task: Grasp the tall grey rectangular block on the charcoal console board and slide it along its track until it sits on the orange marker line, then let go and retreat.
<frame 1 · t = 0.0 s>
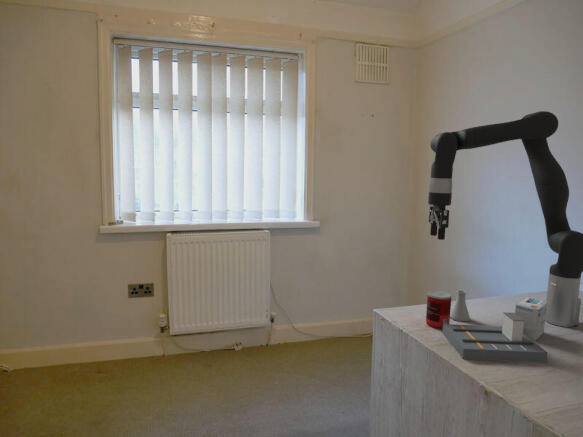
hand: (437, 237, 141), 29 cm above the table, fingers open, 8 cm apart
canned food: (437, 325, 138), on the table
light bulb box: (528, 334, 132), on the table
console: (490, 346, 122), on the table
tall grey rectangular block: (512, 326, 121), point 7 cm above the table, slide at -6.0 cm
flask: (459, 318, 145), on the table
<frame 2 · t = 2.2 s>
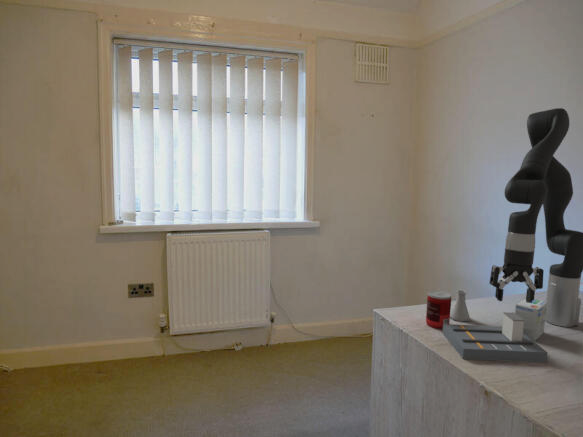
hand: (514, 301, 120), 14 cm above the table, fingers open, 8 cm apart
nothing on the table moved.
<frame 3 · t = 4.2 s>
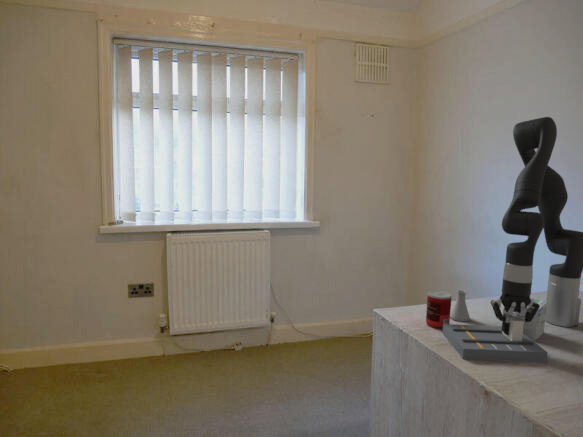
hand: (511, 333, 121), 4 cm above the table, fingers closed on tall grey rectangular block, 3 cm apart
tall grey rectangular block: (512, 326, 121), point 7 cm above the table, slide at -6.0 cm, touching gripper
everything else where it was.
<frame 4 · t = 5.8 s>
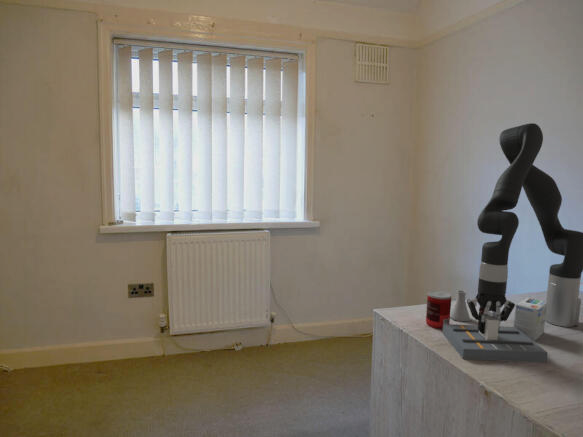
hand: (487, 332, 121), 4 cm above the table, fingers closed on tall grey rectangular block, 3 cm apart
tall grey rectangular block: (488, 325, 121), point 7 cm above the table, slide at 1.1 cm, touching gripper
everything else where it was.
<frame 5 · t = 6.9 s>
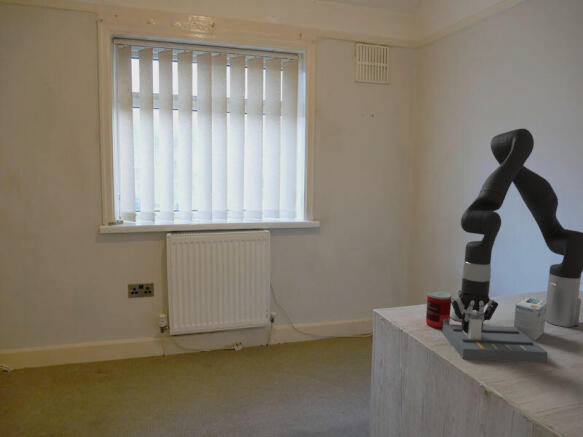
hand: (471, 332, 122), 4 cm above the table, fingers closed on tall grey rectangular block, 3 cm apart
tall grey rectangular block: (472, 325, 121), point 7 cm above the table, slide at 5.9 cm, touching gripper
everything else where it was.
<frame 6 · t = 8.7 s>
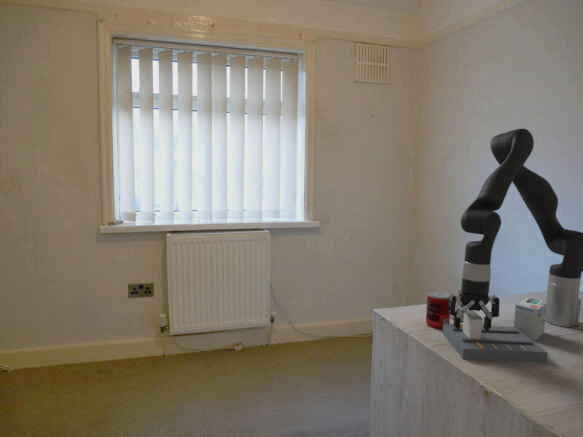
hand: (471, 329, 122), 5 cm above the table, fingers open, 8 cm apart
tall grey rectangular block: (472, 325, 121), point 7 cm above the table, slide at 5.9 cm
everything else where it was.
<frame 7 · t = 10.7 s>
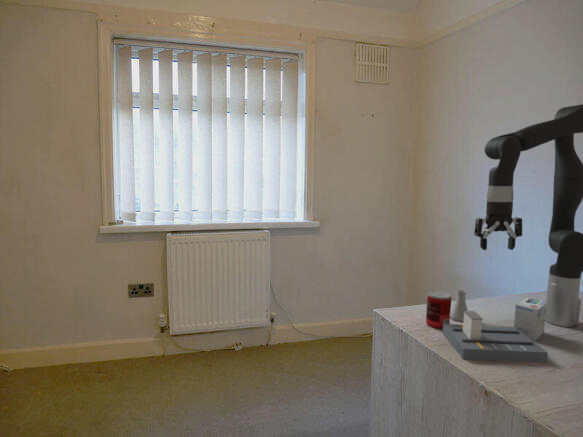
hand: (497, 249, 131), 28 cm above the table, fingers open, 8 cm apart
nothing on the table moved.
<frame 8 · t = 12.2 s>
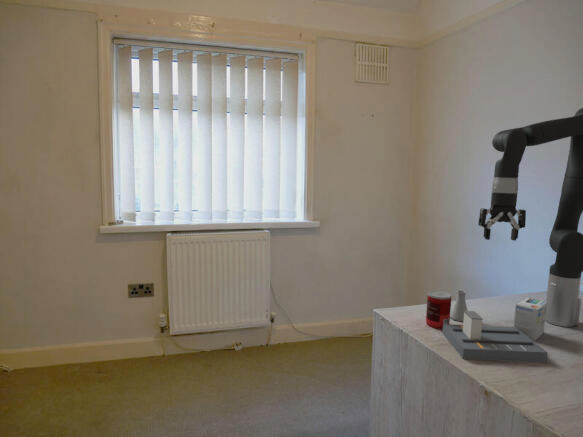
hand: (500, 239, 135), 30 cm above the table, fingers open, 8 cm apart
nothing on the table moved.
at the end: tall grey rectangular block slide at 5.9 cm; the gripper is holding nothing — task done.
